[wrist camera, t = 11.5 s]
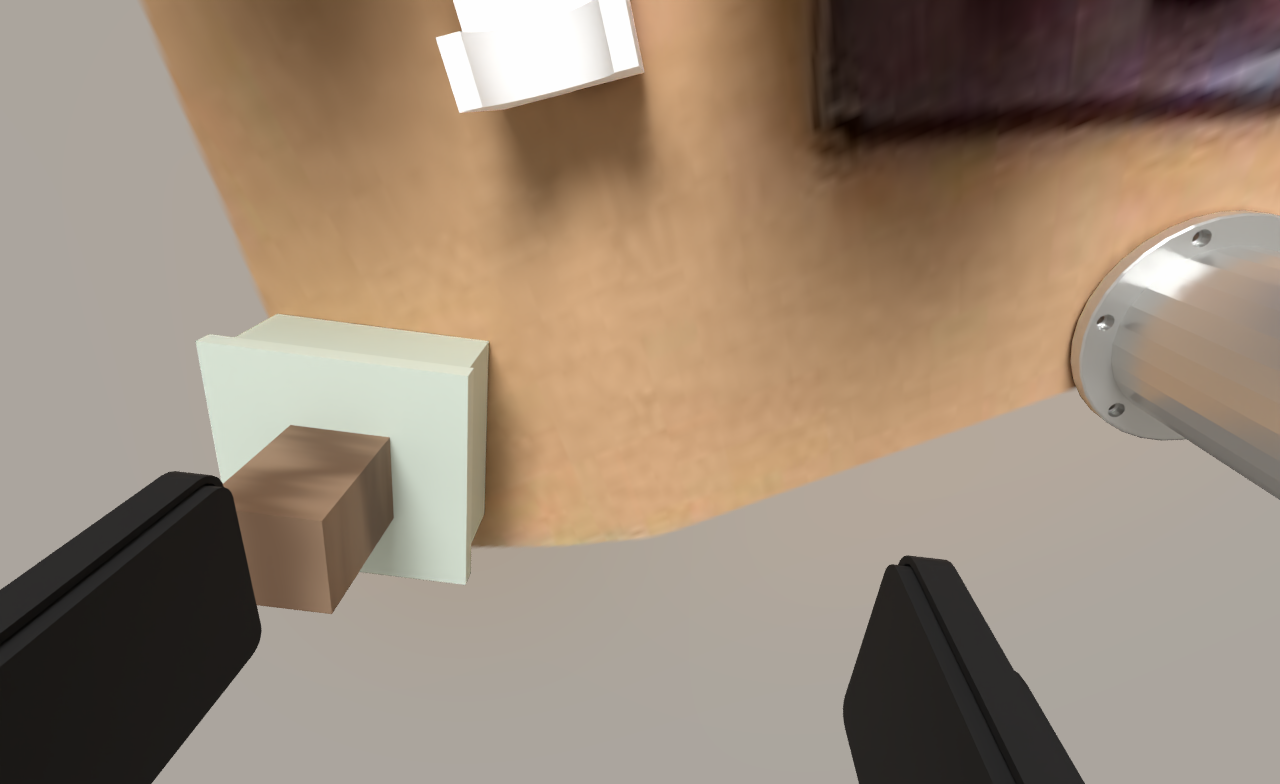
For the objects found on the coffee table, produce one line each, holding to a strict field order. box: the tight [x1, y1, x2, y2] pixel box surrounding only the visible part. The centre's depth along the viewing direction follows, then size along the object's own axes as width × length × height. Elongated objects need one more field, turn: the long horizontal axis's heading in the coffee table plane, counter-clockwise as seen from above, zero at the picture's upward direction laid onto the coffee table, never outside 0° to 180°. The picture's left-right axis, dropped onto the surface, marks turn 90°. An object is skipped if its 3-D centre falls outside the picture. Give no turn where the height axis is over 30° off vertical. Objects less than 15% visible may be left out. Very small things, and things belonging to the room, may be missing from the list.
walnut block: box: [223, 425, 394, 614], centre depth 30 cm, size 5×5×7 cm
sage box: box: [196, 314, 489, 585], centre depth 36 cm, size 13×13×6 cm
